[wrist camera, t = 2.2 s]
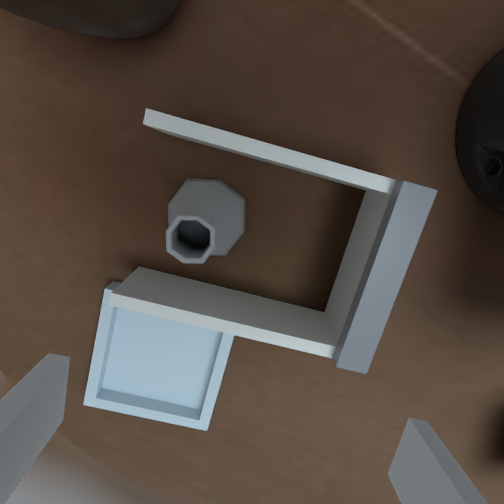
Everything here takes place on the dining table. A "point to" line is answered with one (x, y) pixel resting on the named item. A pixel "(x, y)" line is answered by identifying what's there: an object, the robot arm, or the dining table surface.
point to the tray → (155, 366)
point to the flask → (204, 220)
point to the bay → (346, 283)
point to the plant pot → (97, 15)
